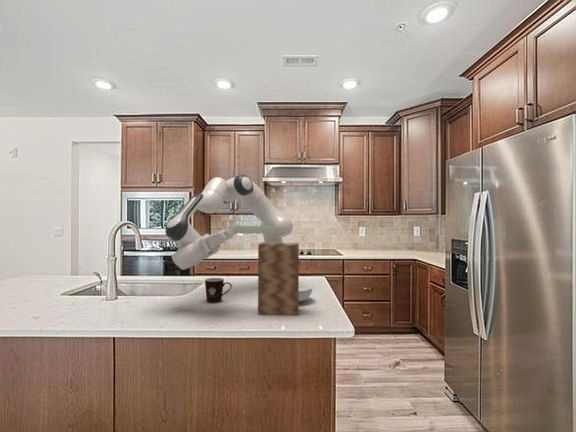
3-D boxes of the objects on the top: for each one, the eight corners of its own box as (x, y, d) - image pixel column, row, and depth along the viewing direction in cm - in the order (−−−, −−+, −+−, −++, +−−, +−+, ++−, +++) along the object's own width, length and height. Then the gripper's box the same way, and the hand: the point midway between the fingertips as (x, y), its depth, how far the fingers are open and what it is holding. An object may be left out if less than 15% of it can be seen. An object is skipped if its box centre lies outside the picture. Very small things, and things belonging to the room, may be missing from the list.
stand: (258, 314, 142) (258, 244, 141) (261, 308, 152) (261, 242, 151) (298, 315, 141) (298, 245, 141) (298, 308, 151) (298, 243, 151)
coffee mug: (200, 302, 161) (200, 280, 161) (212, 298, 169) (213, 277, 169) (220, 305, 156) (221, 282, 156) (232, 301, 163) (232, 279, 163)
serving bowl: (309, 308, 152) (309, 292, 152) (262, 305, 156) (262, 289, 156) (315, 297, 173) (315, 283, 173) (273, 295, 177) (273, 281, 177)
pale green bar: (230, 233, 144) (230, 226, 144) (232, 232, 148) (232, 225, 148) (284, 233, 143) (284, 226, 143) (284, 233, 148) (284, 226, 148)
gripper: (218, 248, 157) (245, 233, 156) (206, 254, 136) (237, 236, 136) (211, 236, 157) (238, 221, 156) (198, 239, 136) (229, 222, 136)
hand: (238, 228), depth 146 cm, fingers closed on pale green bar, 4 cm apart
